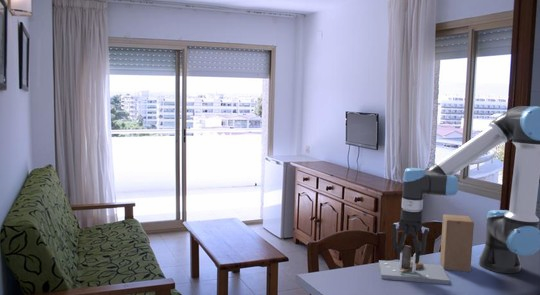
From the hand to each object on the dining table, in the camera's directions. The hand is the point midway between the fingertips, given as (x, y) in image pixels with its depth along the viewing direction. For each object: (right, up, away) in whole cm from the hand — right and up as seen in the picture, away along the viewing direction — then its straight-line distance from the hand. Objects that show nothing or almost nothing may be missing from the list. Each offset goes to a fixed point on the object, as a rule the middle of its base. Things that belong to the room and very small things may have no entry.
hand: (407, 269), depth 180 cm
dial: (+1, 0, +2) cm, 3 cm away
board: (+2, -2, +2) cm, 4 cm away
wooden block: (+22, -2, +11) cm, 25 cm away
